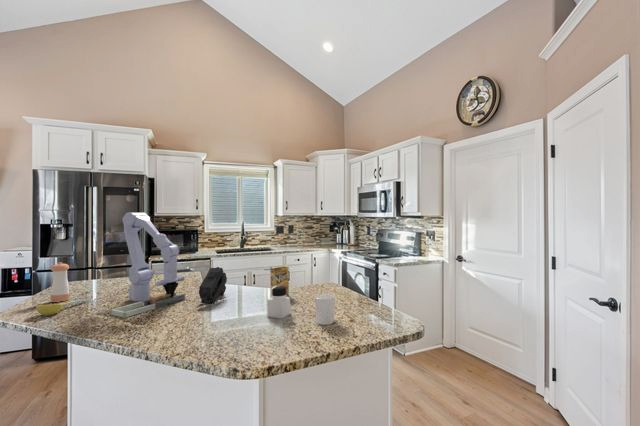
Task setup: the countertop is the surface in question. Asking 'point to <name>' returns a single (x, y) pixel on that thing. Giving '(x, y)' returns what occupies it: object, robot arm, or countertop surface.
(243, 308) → the countertop surface
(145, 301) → the rail
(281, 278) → the candy box
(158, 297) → the copper block
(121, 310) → the tray
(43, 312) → the ladle
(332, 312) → the white cup
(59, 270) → the pepper shaker
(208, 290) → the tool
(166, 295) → the brass block
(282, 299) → the medicine bottle
